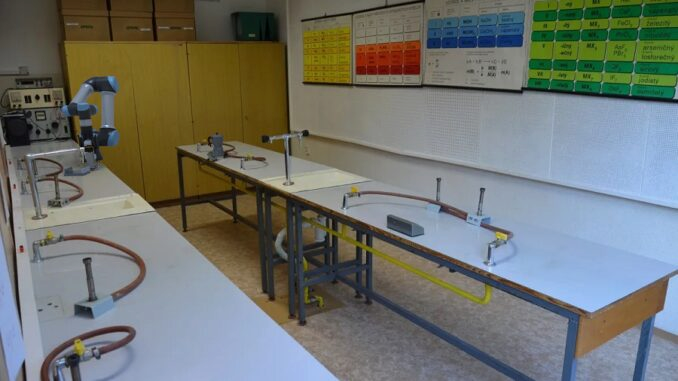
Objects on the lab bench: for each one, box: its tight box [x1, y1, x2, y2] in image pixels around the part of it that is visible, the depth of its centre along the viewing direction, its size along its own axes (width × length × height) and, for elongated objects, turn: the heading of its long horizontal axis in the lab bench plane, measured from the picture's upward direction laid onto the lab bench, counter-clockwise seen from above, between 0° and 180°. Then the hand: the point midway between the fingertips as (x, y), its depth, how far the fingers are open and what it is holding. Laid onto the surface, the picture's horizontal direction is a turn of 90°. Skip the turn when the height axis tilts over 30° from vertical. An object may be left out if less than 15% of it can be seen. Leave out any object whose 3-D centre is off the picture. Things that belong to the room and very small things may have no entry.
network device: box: [84, 139, 101, 171], centre depth 348 cm, size 26×9×20 cm, turn 22°
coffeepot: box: [206, 132, 225, 157], centre depth 387 cm, size 15×9×18 cm, turn 138°
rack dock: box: [62, 165, 91, 177], centre depth 330 cm, size 10×13×4 cm
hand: (90, 158), depth 349 cm, fingers closed on network device, 5 cm apart
